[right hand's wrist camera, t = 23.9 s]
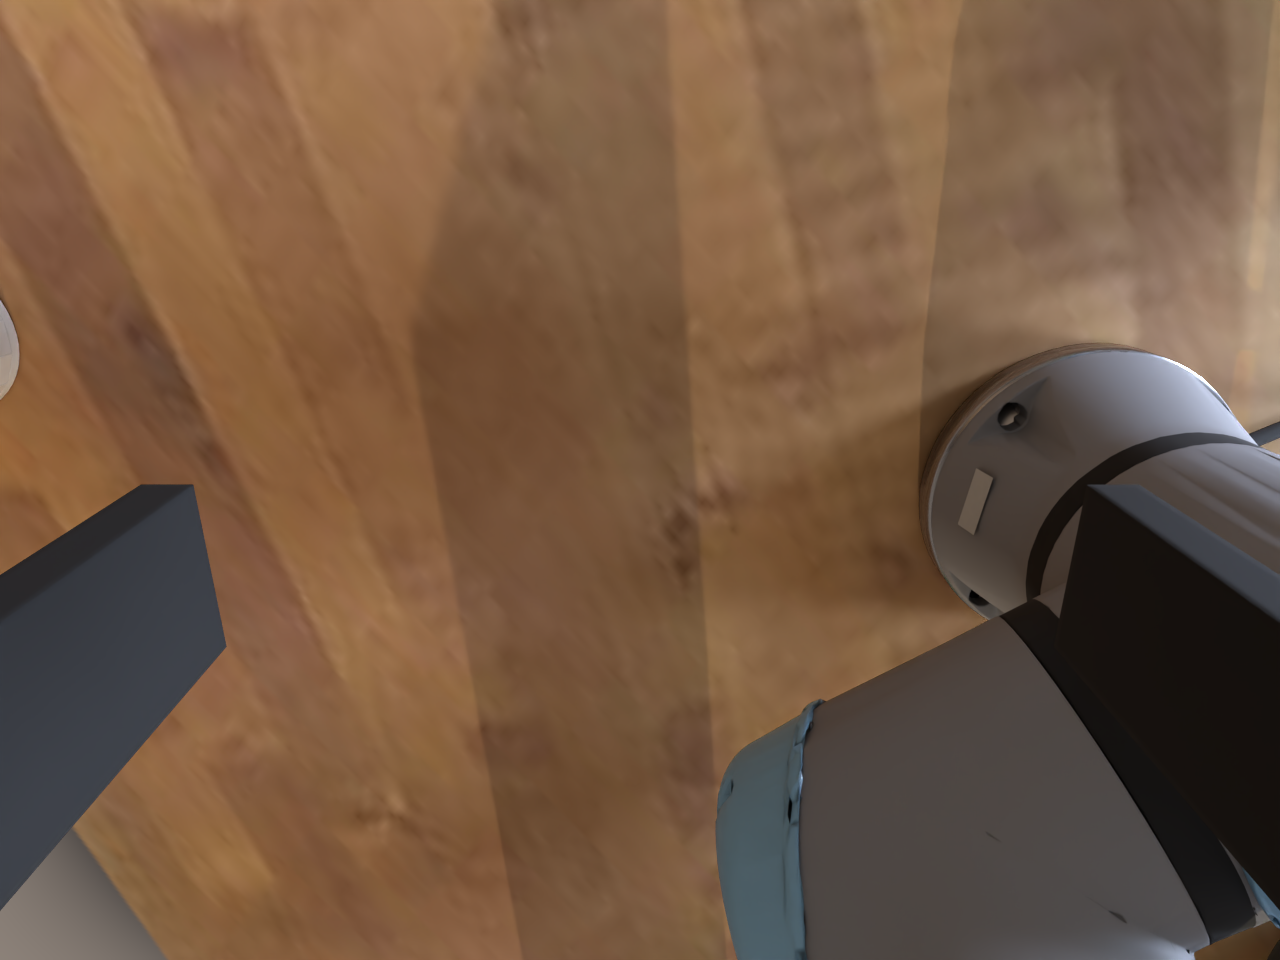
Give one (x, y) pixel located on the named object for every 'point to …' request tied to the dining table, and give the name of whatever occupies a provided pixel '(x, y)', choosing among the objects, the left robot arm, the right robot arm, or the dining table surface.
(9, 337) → the ceramic cup
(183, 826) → the dining table surface
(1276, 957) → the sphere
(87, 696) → the right robot arm
